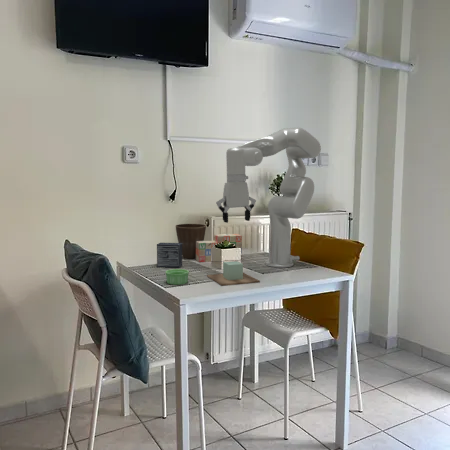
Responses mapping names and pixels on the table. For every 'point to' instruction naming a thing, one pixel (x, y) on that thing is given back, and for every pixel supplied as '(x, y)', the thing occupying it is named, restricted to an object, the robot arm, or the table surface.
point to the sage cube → (233, 270)
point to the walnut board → (223, 281)
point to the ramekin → (177, 276)
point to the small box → (169, 255)
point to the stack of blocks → (205, 246)
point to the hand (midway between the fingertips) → (236, 221)
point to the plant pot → (190, 238)
